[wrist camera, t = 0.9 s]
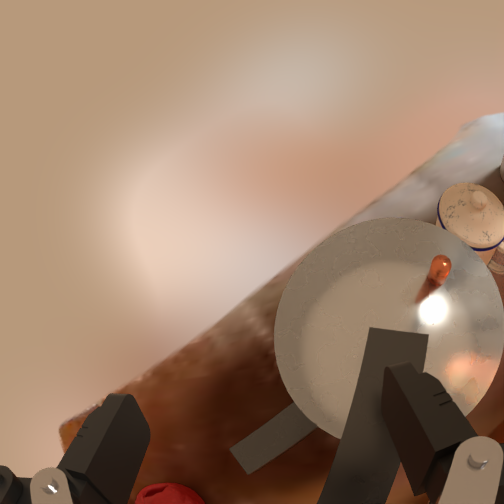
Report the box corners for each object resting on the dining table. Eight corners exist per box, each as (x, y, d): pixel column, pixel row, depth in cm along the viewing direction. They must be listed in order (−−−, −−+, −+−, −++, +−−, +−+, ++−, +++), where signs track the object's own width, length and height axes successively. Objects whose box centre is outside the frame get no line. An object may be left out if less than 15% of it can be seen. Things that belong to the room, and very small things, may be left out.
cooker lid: (308, 220, 29) (282, 149, 22) (494, 238, 21) (524, 165, 14) (220, 496, 18) (150, 519, 11) (444, 542, 10) (475, 590, 3)
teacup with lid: (415, 257, 36) (425, 199, 27) (449, 215, 37) (462, 154, 27) (482, 313, 28) (518, 268, 19) (512, 263, 29) (544, 210, 20)
